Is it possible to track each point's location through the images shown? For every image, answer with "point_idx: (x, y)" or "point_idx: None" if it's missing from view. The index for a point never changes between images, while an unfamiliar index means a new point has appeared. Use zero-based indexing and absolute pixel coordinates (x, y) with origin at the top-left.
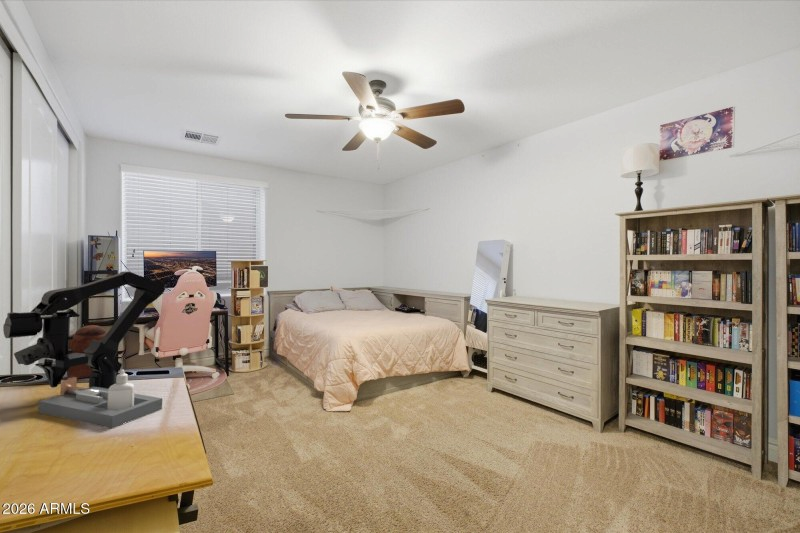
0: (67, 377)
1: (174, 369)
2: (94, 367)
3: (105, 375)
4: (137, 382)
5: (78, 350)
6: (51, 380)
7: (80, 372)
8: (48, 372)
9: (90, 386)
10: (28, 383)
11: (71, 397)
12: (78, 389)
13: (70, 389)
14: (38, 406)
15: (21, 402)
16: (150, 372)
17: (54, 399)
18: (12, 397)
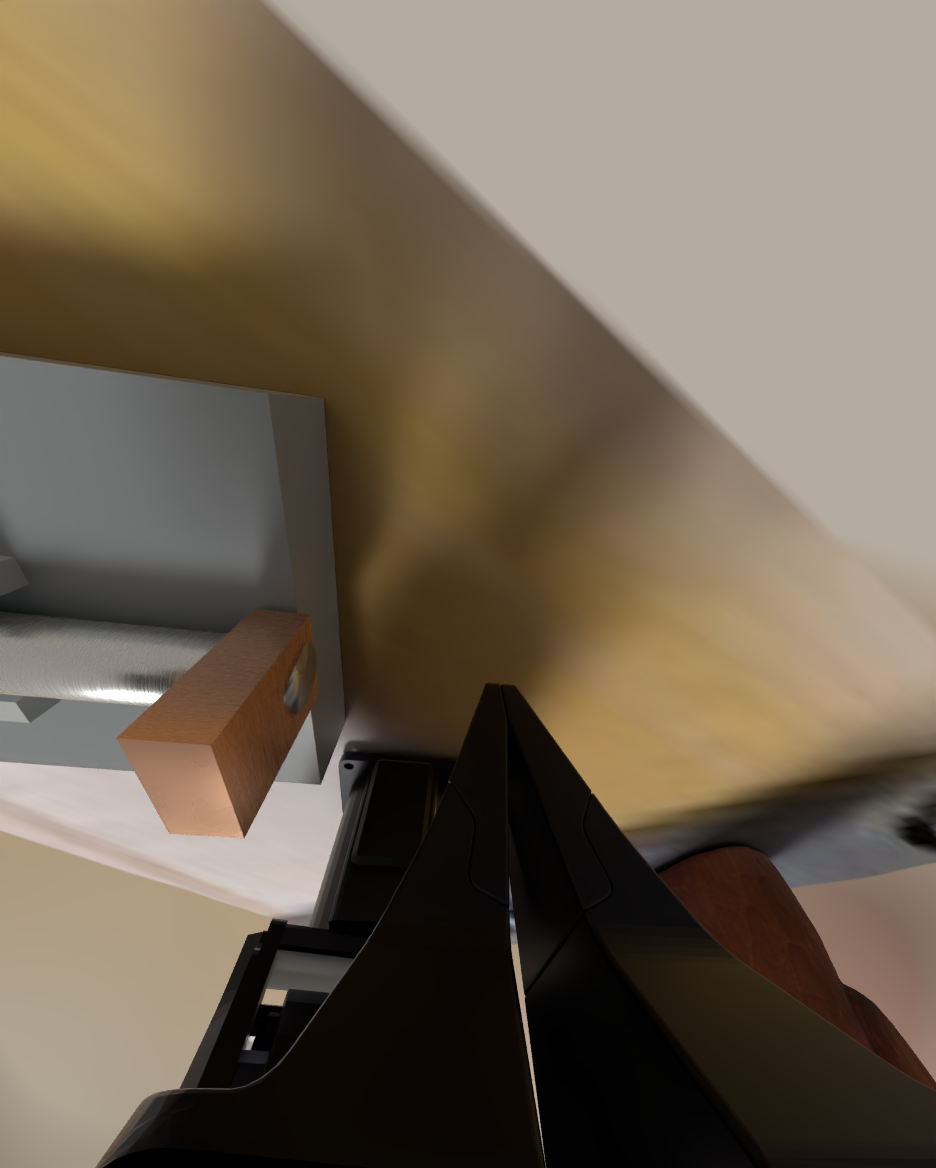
0: (755, 852)
1: None
2: (313, 1005)
3: (322, 900)
4: None
5: None
6: (490, 741)
7: (705, 896)
8: (563, 870)
9: (410, 789)
10: (919, 775)
11: (115, 579)
12: (34, 662)
13: (162, 657)
14: (293, 395)
15: (689, 543)
16: None
17: (183, 492)
18: (845, 602)
